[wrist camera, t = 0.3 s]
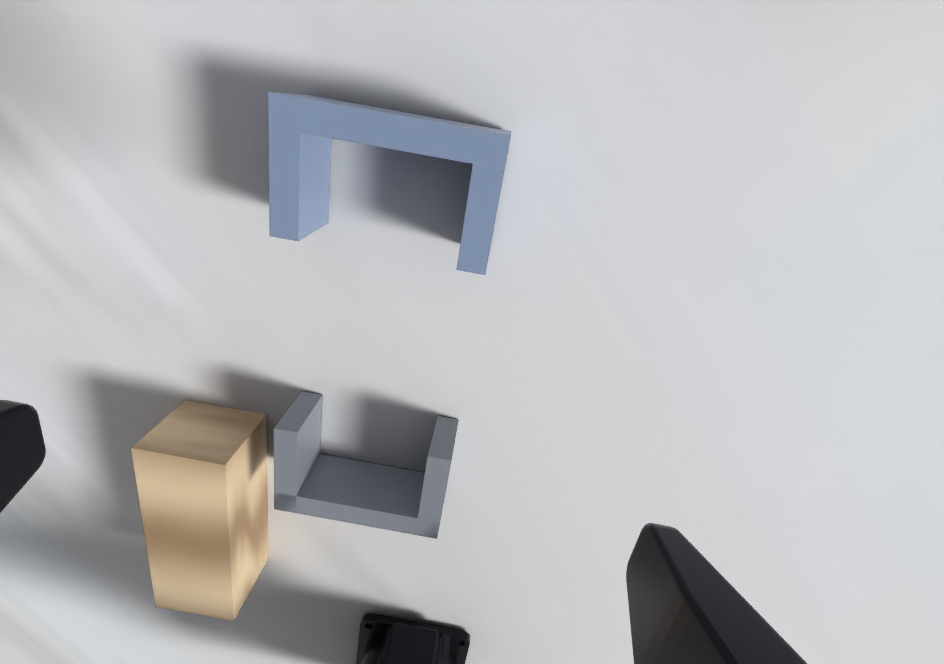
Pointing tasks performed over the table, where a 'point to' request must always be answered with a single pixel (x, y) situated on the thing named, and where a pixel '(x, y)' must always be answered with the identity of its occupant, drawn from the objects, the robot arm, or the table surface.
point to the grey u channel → (357, 477)
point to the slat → (204, 507)
